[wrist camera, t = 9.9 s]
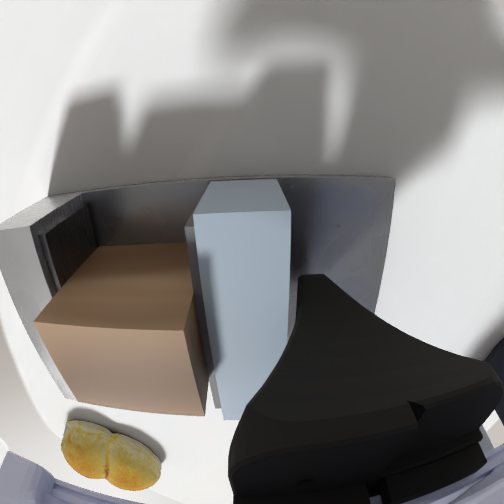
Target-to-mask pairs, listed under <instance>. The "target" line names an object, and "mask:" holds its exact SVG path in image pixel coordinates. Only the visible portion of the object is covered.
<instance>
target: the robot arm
mask: <svg viewBox="0 0 504 504" xmlns="http://www.w3.org/2000/svg"><path fill="white" fill-rule="evenodd" d="M503 392H504V384H503V383H502V381H501V380H500V378H499V377H498V375H497V374H496V372H495V371H494V369H493V368H492V367H491V365H490V364H489V363H488V362H484V361H480V360H476V359H472V358H468V357H464V356H460V355H457V354H454V353H451V352H448V351H445V350H442V349H440V348H437V347H435V346H432V345H430V344H427V343H425V342H423V341H421V340H419V339H416V338H414V337H412V336H410V335H408V334H406V333H404V332H402V331H400V330H399V329H397V328H395V327H394V326H392V325H390V324H389V323H387V322H385V321H384V320H382V319H381V318H379V317H378V316H376V315H375V314H373V313H372V312H370V311H369V310H368V309H366V308H365V307H364V306H362V305H361V304H360V303H358V302H357V301H356V300H355V299H353V298H352V297H351V296H350V295H348V294H347V293H346V292H345V291H344V290H342V289H341V288H340V287H339V286H338V285H337V284H335V283H334V282H333V281H332V280H331V279H329V278H328V277H327V276H326V275H325V274H306V275H300V276H299V277H298V284H297V302H296V318H295V324H294V327H293V330H292V333H291V335H290V338H289V340H288V343H287V345H286V347H285V349H284V351H283V353H282V355H281V357H280V359H279V361H278V362H277V364H276V366H275V367H274V369H273V370H272V372H271V373H270V375H269V377H268V378H267V380H266V381H265V383H264V384H263V385H262V387H261V388H260V389H259V390H258V392H257V393H256V394H255V395H254V396H253V398H252V399H251V400H250V401H249V402H248V404H247V405H246V407H245V410H244V412H243V414H242V416H241V419H240V421H239V423H238V426H237V428H236V431H235V433H234V436H233V439H232V442H231V446H230V450H229V456H228V478H229V481H230V484H231V488H232V491H233V494H234V496H233V504H504V443H503V444H502V445H500V446H498V447H497V448H495V449H494V447H493V445H492V443H491V441H490V439H489V437H488V435H487V433H486V431H485V429H484V427H483V425H482V424H483V423H484V422H485V420H486V419H487V418H488V417H489V416H490V414H491V413H492V412H493V410H494V409H495V408H496V406H497V405H498V403H499V402H500V400H501V398H502V395H503ZM0 504H143V503H138V502H133V501H128V500H124V499H120V498H116V497H112V496H108V495H104V494H101V493H97V492H94V491H90V490H87V489H84V488H81V487H78V486H75V485H72V484H69V483H66V482H63V481H61V480H58V479H55V478H54V477H53V475H52V474H51V473H49V472H48V471H47V470H46V469H44V468H43V467H41V466H39V465H38V464H36V463H34V462H32V461H30V460H27V459H25V458H23V457H21V456H19V455H17V454H15V453H13V452H11V451H8V452H7V454H6V456H5V458H4V461H3V463H2V466H1V468H0Z"/></svg>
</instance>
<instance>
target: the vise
mask: <svg viewBox="0 0 504 504" xmlns="http://www.w3.org/2000/svg"><path fill="white" fill-rule="evenodd" d="M255 179H277V181H278V183H279V185H280V187H281V189H282V192H283V194H284V196H285V198H286V200H287V203H288V205H289V207H290V209H291V247H290V282H289V308H288V330H287V343H288V340H289V338H290V335H291V333H292V330H293V327H294V324H295V318H296V302H297V284H298V277H299V276H300V275H306V274H325V275H326V276H327V277H328V278H329V279H331V280H332V281H333V282H334V283H335V284H337V285H338V286H339V287H340V288H341V289H342V290H344V291H345V292H346V293H347V294H348V295H350V296H351V297H352V298H353V299H355V300H356V301H357V302H358V303H360V304H361V305H362V306H364V307H365V308H366V309H368V310H369V311H370V312H372V313H373V314H374V312H375V308H376V303H377V299H378V294H379V289H380V284H381V279H382V274H383V268H384V263H385V257H386V251H387V245H388V238H389V232H390V224H391V217H392V209H393V200H394V190H395V179H393V178H391V177H371V176H338V175H277V176H243V177H221V178H204V179H189V180H176V181H165V182H154V183H144V184H134V185H125V186H117V187H109V188H101V189H94V190H86V191H80V192H73V193H66V194H60V195H54V196H48V197H46V198H44V199H42V200H40V201H38V202H36V203H35V204H33V205H31V206H29V207H28V208H26V209H24V210H22V211H21V212H19V213H17V214H16V215H14V216H12V217H11V218H9V219H7V220H6V221H4V222H3V223H1V224H0V270H1V272H2V275H3V278H4V280H5V283H6V286H7V288H8V291H9V293H10V296H11V298H12V300H13V303H14V305H15V307H16V310H17V312H18V314H19V316H20V318H21V321H22V323H23V325H24V327H25V329H26V331H27V333H28V335H29V337H30V339H31V341H32V343H33V345H34V346H35V348H36V350H37V352H38V354H39V356H40V357H41V359H42V361H43V363H44V364H45V366H46V368H47V370H48V371H49V373H50V375H51V376H52V378H53V379H54V381H55V383H56V384H57V386H58V387H59V389H60V390H61V392H62V393H63V395H64V396H65V398H68V399H72V400H77V399H76V398H75V396H74V395H73V393H72V392H71V390H70V388H69V387H68V385H67V384H66V382H65V380H64V379H63V377H62V375H61V374H60V372H59V370H58V368H57V367H56V365H55V363H54V361H53V360H52V358H51V356H50V354H49V352H48V350H47V348H46V347H45V345H44V343H43V341H42V339H41V337H40V335H39V333H38V331H37V328H36V326H35V324H34V322H33V321H34V320H35V319H36V318H37V316H38V315H39V314H40V313H41V311H42V310H43V309H44V308H45V306H46V305H47V304H48V303H49V302H50V300H51V299H52V298H53V297H54V296H55V294H56V293H57V292H58V291H59V290H60V289H61V287H62V286H63V285H64V284H65V283H66V282H67V281H68V279H69V278H70V277H71V276H72V275H73V274H74V273H75V272H76V271H77V269H78V268H79V267H80V266H81V265H82V264H83V263H84V262H85V261H86V260H87V259H88V258H89V257H90V255H91V254H92V253H93V252H94V251H95V250H96V249H97V248H98V247H99V246H114V245H133V244H154V243H176V242H186V235H185V225H186V223H187V221H188V219H189V217H190V216H191V214H192V212H193V210H194V208H195V206H196V205H197V203H198V201H199V199H200V197H201V195H203V194H204V193H205V191H206V189H207V187H208V185H209V183H210V182H211V181H230V180H255Z"/></svg>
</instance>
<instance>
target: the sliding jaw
mask: <svg viewBox="0 0 504 504" xmlns="http://www.w3.org/2000/svg"><path fill="white" fill-rule="evenodd" d="M185 235H186V243H187V251H188V258H189V265H190V272H191V279H192V286H193V292H194V298H195V304H196V310H197V316H198V322H199V328H200V334H201V339H202V345H203V350H204V356H205V361H206V366H207V371H208V376H209V381H210V386H211V391H212V396H213V400H214V405H215V408H222V413H223V418H224V420H240V419H241V416H242V414H243V412H244V410H245V407H246V405H247V404H248V402H249V401H250V400H251V399H252V398H253V396H254V395H255V394H256V393H257V392H258V390H259V389H260V388H261V387H262V385H263V384H264V383H265V381H266V380H267V378H268V377H269V375H270V373H271V372H272V370H273V369H274V367H275V366H276V364H277V362H278V361H279V359H280V357H281V355H282V353H283V351H284V349H285V347H286V345H287V330H288V308H289V282H290V247H291V209H290V207H289V205H288V203H287V200H286V198H285V196H284V194H283V192H282V189H281V187H280V185H279V183H278V181H277V179H255V180H230V181H211V182H210V183H209V185H208V187H207V189H206V191H205V193H204V194H203V195H201V197H200V199H199V201H198V203H197V205H196V206H195V208H194V210H193V212H192V214H191V216H190V217H189V219H188V221H187V223H186V225H185Z"/></svg>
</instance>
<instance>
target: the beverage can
mask: <svg viewBox="0 0 504 504" xmlns="http://www.w3.org/2000/svg"><path fill="white" fill-rule="evenodd" d="M485 362H488V363H489V364H490V365H491V367H492V368H493V369H494V371H495V372H496V374H497V375H498V377H499V378H500V380H501V381H502V383H503V384H504V339H503V340H502V341H501V342H500V343H499V344H498V345H497V346H496V347H495V348H494V350H493V351H492V352H491V353H490V355H489V356H488V358H487V359H486V361H485ZM495 411H496V413H497V414H498V416H499V418H500V419H501V421H502V423H503V425H504V392H503V395H502V398H501V400H500V402H499V403H498V405H497V406H496V408H495Z"/></svg>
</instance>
